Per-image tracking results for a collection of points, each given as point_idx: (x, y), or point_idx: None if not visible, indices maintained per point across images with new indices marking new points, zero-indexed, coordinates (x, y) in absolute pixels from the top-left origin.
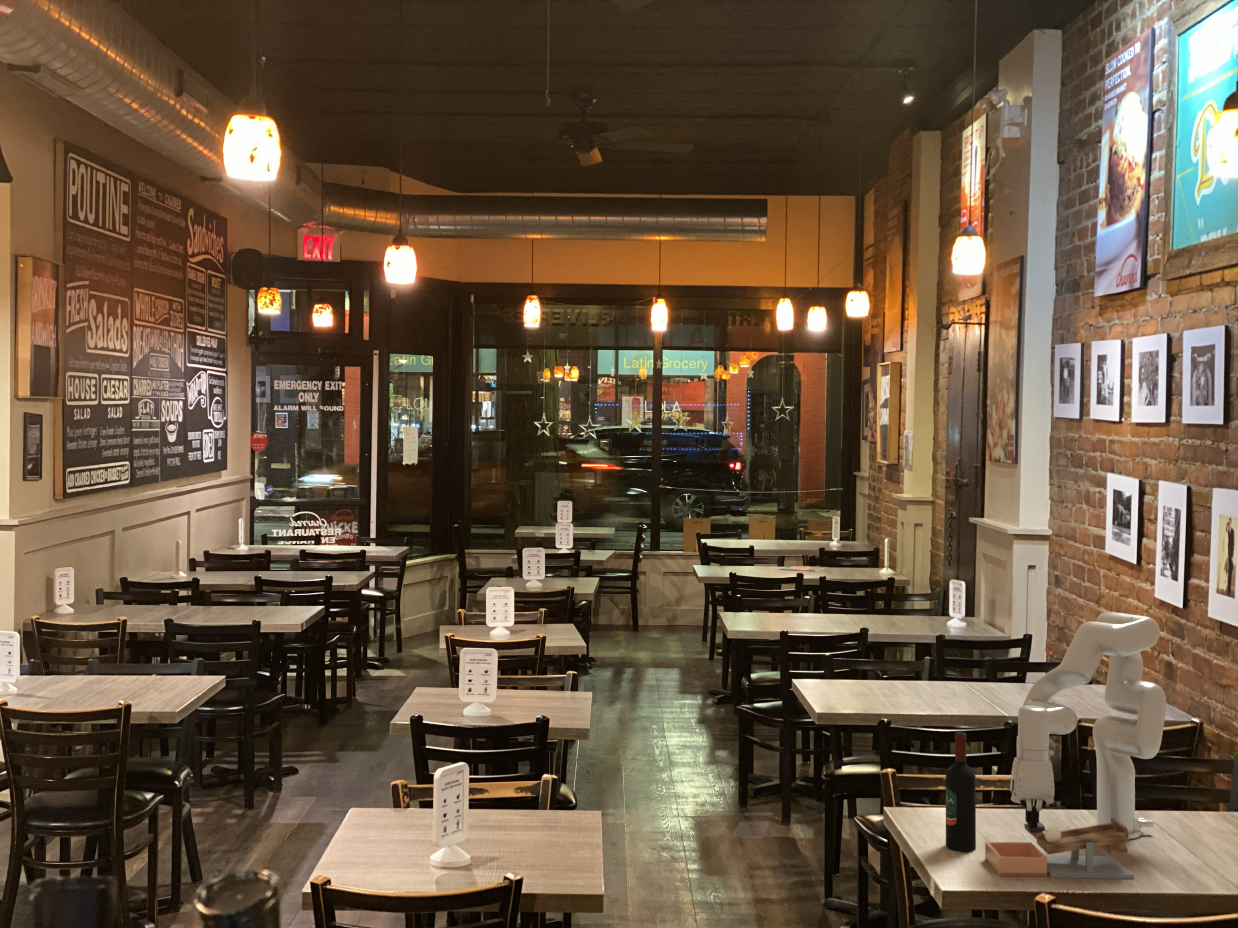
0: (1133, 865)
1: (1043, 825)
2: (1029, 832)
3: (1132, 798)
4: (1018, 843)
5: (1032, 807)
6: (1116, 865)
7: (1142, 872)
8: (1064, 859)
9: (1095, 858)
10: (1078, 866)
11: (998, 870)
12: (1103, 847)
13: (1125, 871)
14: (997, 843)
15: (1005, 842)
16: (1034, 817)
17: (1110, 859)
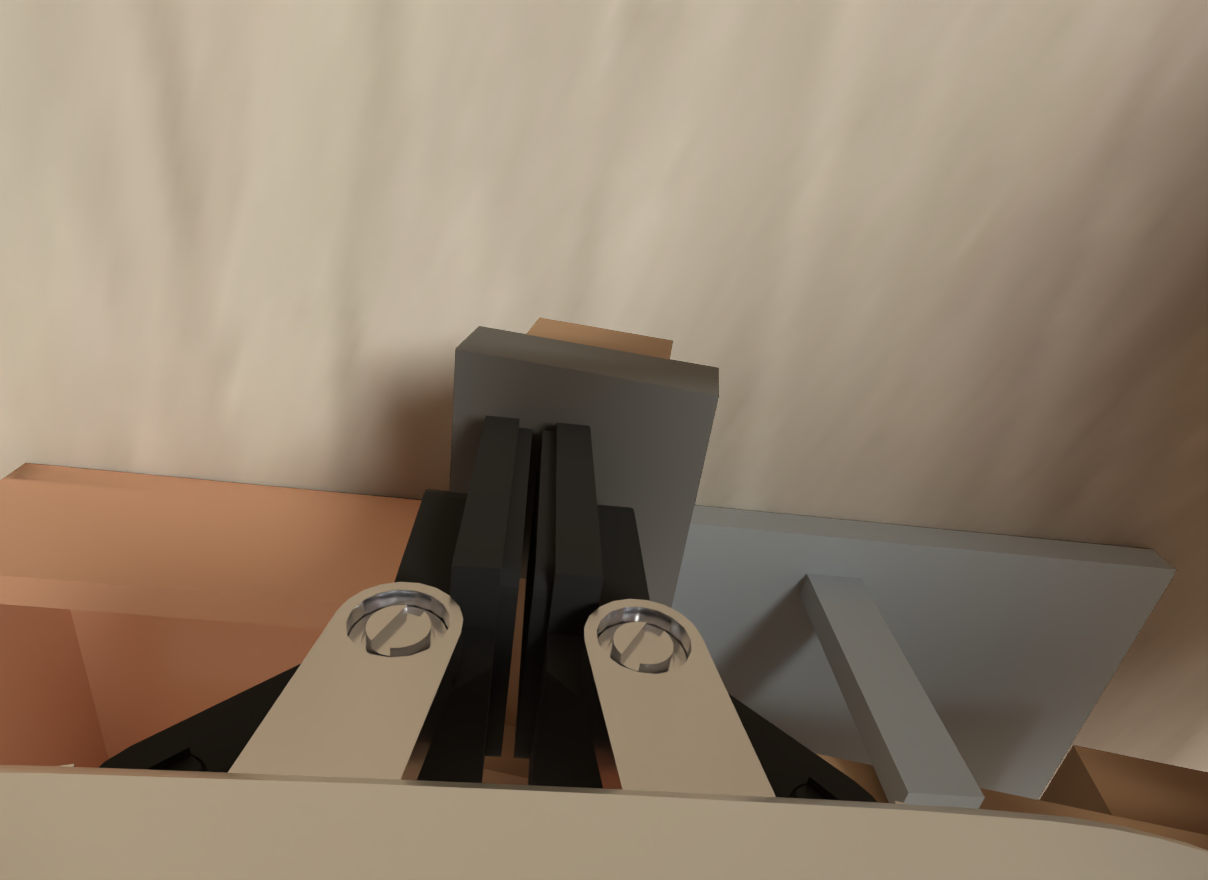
0: (1200, 651)
1: (675, 574)
2: None
3: None
4: (281, 621)
5: (549, 652)
6: (1027, 728)
7: (1135, 754)
8: (716, 608)
9: (992, 602)
10: None
11: None
12: (1059, 774)
13: None
14: (37, 599)
15: (133, 593)
16: (519, 677)
17: (1091, 629)
